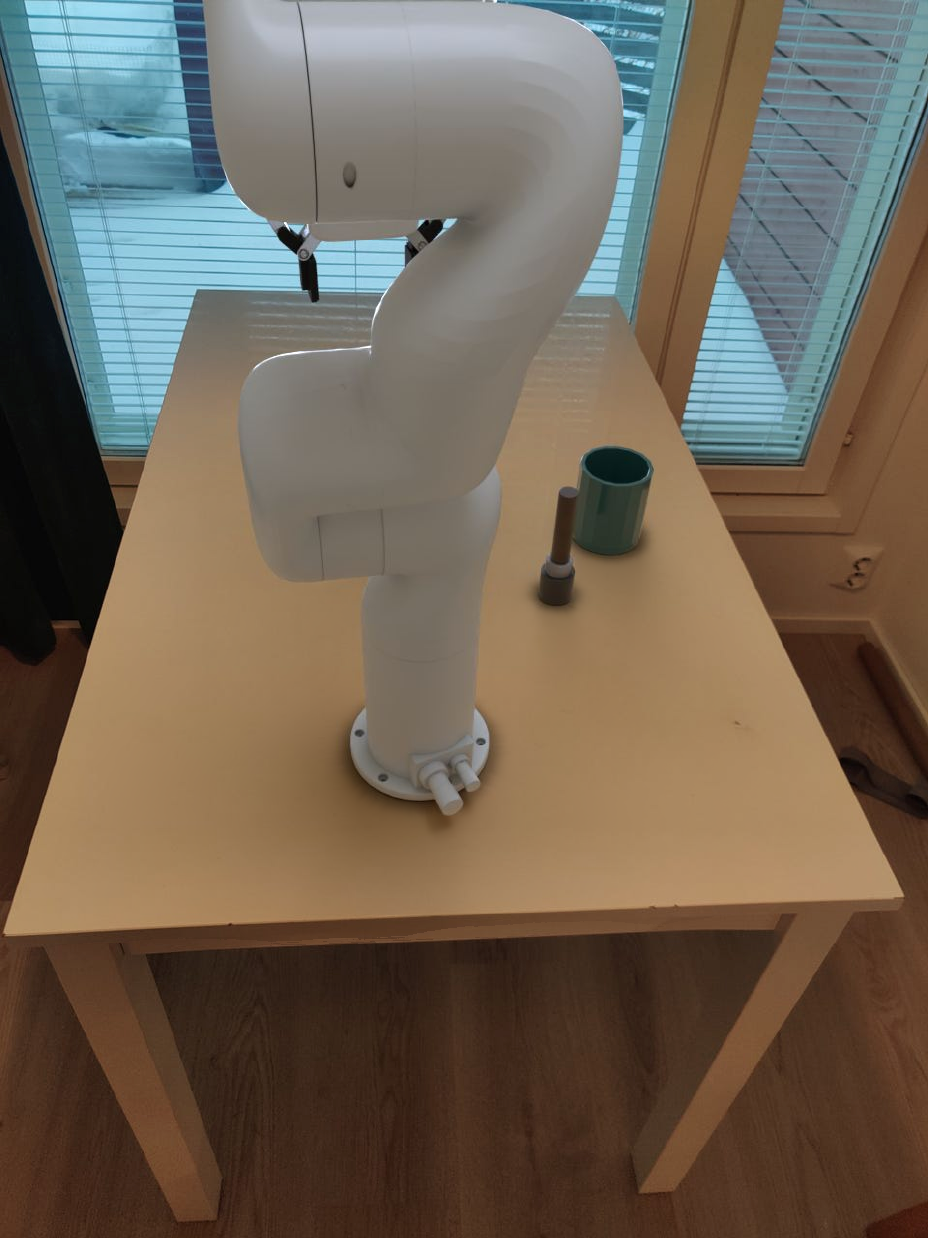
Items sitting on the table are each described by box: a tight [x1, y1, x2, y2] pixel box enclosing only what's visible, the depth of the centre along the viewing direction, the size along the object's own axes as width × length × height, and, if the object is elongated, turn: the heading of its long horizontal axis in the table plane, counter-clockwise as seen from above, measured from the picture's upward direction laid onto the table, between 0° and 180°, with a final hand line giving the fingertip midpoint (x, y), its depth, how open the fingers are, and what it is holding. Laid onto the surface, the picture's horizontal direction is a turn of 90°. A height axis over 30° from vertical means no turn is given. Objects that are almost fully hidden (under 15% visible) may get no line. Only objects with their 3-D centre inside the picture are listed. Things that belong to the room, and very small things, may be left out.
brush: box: [537, 485, 579, 607], centre depth 96 cm, size 4×4×14 cm
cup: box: [572, 445, 655, 556], centre depth 106 cm, size 8×8×10 cm
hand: (363, 292), depth 90 cm, fingers open, 9 cm apart
